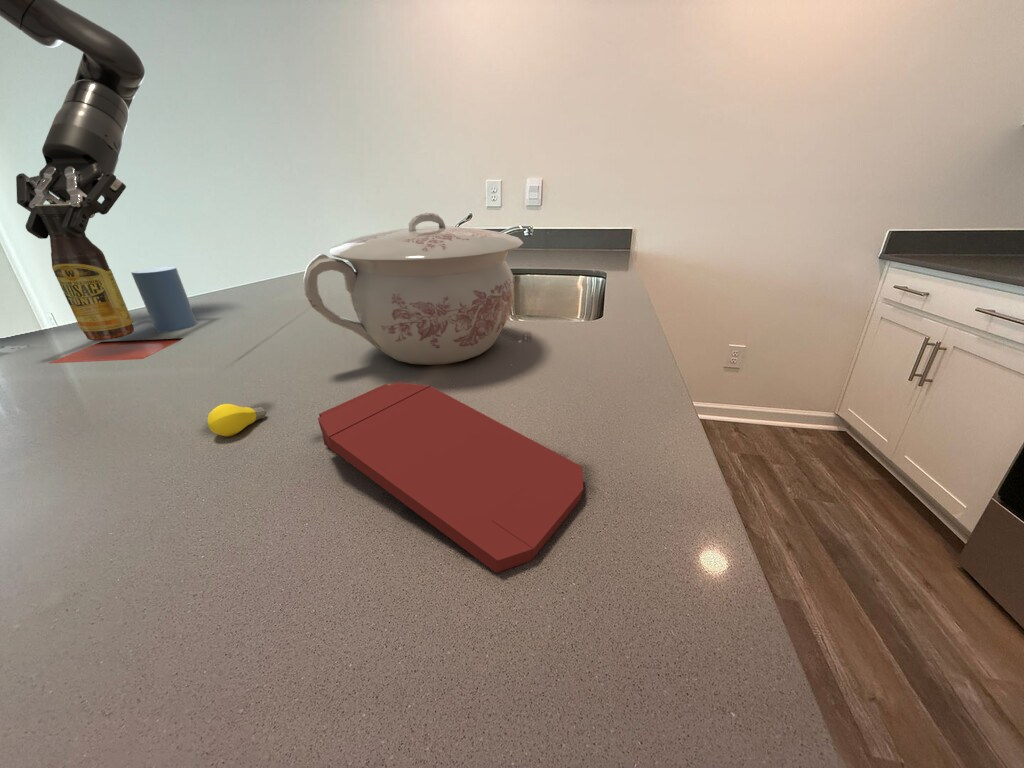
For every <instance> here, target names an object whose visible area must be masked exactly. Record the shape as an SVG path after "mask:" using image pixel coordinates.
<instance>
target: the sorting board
mask: <svg viewBox="0 0 1024 768" xmlns="http://www.w3.org/2000/svg"><path fill="white" fill-rule="evenodd" d="M183 339H184V337H176V338H174V337H173V338H152V339H129V340H127V339H126V340H109V341H108V340H103V341H99V342H97V343H95V344H92V345H90V346H87V347H84V348H82V349H79V350H77V351H74V352H71V353H70V354H67V355H65V356H62V357H59V358H57V359H55V360H52V361H49V364H65V363H84V362H85V363H87V362H107V361H110V362H111V361H128V360H129V361H130V360H131V361H132V360H145V359H146V358H148V357H150V356H152V355H153V354H155V353H158V352H159V351H162V350H163V349H166V348H167V347H170V346H172V345H173V344H175V343H178V342H179V341H182V340H183Z"/></svg>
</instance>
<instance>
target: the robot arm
mask: <svg viewBox="0 0 1024 768" xmlns="http://www.w3.org/2000/svg"><path fill="white" fill-rule="evenodd" d="M0 17H1V18H3V20H5V21H7V23H9V24H11V25H12V26H13V27H15V28H16V29H18V30H19V31H20V32H23V34H24V35H26V36H27V37H29V38H31V40H33V41H34V42H36V43H38V44H40V45H42V46H43V47H47V48H56V47H59V46H60V45H62V44H63V43H64V44H67V45H69V46H71V47H73V48H75V49H77V50H79V51H80V52H82V55H81V57H80V58H81V59H80V62H79V64H78V67H77V71H76V74H75V77H74V81H73V83H72V84H71V86H70V87H69V89H68V91H67V93H66V95H65V98H64V100H63V103H62V105H61V107H60V109H59V110H58V111H57V113H56V114H55V116H54V117H53V120H52V123H51V125H50V128H49V131H48V133H47V135H46V138H45V141H44V143H43V145H42V147H41V149H42V150H41V152H42V155H43V158H44V161H45V166H44V167H43V168H42V169H41V170H40V171H39V172H38V175H34V176H30V177H29V175H26V173H22V172H21V173H17V175H16V176H15V181H16V185H15V186H16V188H15V189H16V204H17V205H19V206H21V208H23V209H25V210H27V211H28V212H30V213H29V215H28V218H27V221H26V223H25V229H26V231H27V232H28V233H29V234H31V235H33V236H34V237H36V238H37V239H41V240H43V239H44V240H45V239H48V238H49V235H48V231H47V229H46V227H45V224H44V222H43V220H42V218H41V217H40V216H39V215H38V214H37V211H36V209H35V205H41V204H44V203H46V202H48V204H70V205H71V206H72V207H73V208H68V209H67V212H66V215H65V218H64V221H63V224H62V230H63V231H64V232H66V233H67V234H69V235H70V236H72V237H74V238H81V237H82V234H83V233H84V232H85V233H86V230H87V227H88V225H89V221H90V219H93V218H94V217H95V216H96V214H100V215H107V214H109V211H110V210H111V209H112V207H113V206H115V203H116V202H117V201H118V199H119V198H120V196H121V195H122V194H123V192H125V189H127V185H126V184H125V183H124V182H123V181H122V180H121V179H120V178H119V177H118V176H117V175H115V172H116V169H117V165H118V162H119V159H120V156H121V154H122V150H123V144H124V143H123V141H124V136H125V133H126V130H127V126H128V123H129V118H130V117H129V116H130V112H129V111H130V109H131V105H132V104H133V101H134V99H135V97H136V95H137V93H138V91H139V89H140V87H141V85H142V84H143V81H144V79H145V76H146V67H145V64H144V62H143V60H142V59H141V57H140V56H139V54H138V53H137V52H136V51H135V50H134V48H132V47H131V45H130V44H128V43H127V42H126V41H125V40H123V39H122V38H121V37H119V36H118V35H116V34H114V33H113V32H111V31H110V30H108V29H106V28H105V27H103V26H101V25H99V24H97V23H95V22H93V21H92V20H90V19H88V18H86V17H85V16H84V15H82V14H80V13H78V12H76V11H75V10H73V9H70V8H69V7H67V6H65V5H63V4H62V3H60V2H59V1H58V0H0ZM101 197H102V198H103V201H102V202H100V201H99V199H100V198H101Z"/></svg>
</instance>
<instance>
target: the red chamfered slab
mask: <svg viewBox="0 0 1024 768" xmlns="http://www.w3.org/2000/svg"><path fill="white" fill-rule="evenodd" d="M318 416H319V417H317V421H318V424H319V428H320V431H321V433H322V439H323V444H324V446H326V447H327V448H328V449H329V450H331V451H332V452H334V453H335V454H337V455H338V456H340V457H341V458H342V459H344V460H345V461H346V462H348V463H349V464H350V465H352V466H353V467H354V468H356V469H357V470H358V471H360V472H361V473H362V474H363V475H365V476H366V477H368V478H369V479H371V481H373V482H374V483H376V484H377V485H378V486H380V487H381V488H382V489H384V490H385V491H386V492H388V493H389V494H390V495H392V496H393V497H394V498H395V499H397V500H398V501H400V502H401V503H403V504H404V505H405V506H406V507H408V508H409V509H410V510H411V511H413V512H414V513H416V514H417V515H418V516H420V517H421V518H423V519H424V520H425V521H426V522H427V523H429V524H430V525H431V526H433V527H434V528H435V529H437V530H438V531H440V532H441V533H442V534H444V535H445V536H446V537H447V538H449V539H450V540H452V541H453V542H454V543H456V544H457V545H458V546H460V547H461V548H462V549H464V550H465V551H466V552H468V553H469V554H470V555H472V556H473V557H474V558H476V560H478V561H479V562H481V563H482V564H483V565H484V566H486V567H487V568H489V569H490V570H491V571H493V572H494V573H495V574H497V573H499V572H503V571H506V570H509V569H513V568H514V567H517V566H521V565H523V564H526V563H529V562H532V561H533V560H534V558H535V557H536V556H537V555H538V553H539V552H540V551H541V550H542V548H543V547H544V546H545V545H546V544H547V543H548V541H549V540H550V539H551V537H552V536H553V535H554V534H555V533H556V531H557V530H558V529H559V527H560V526H561V525H562V523H564V521H565V520H566V519H567V518H568V516H569V515H570V514H571V512H572V511H573V510H574V509H575V508H576V506H578V504H579V503H580V501H581V500H582V495H583V492H584V473H583V472H584V471H583V466H582V465H581V464H579V463H576V462H574V461H573V460H571V459H569V458H567V457H565V456H563V455H562V454H560V453H558V452H556V451H554V450H552V449H550V448H548V447H546V446H544V445H542V444H541V443H539V442H537V441H535V440H533V439H531V438H529V437H527V436H526V435H523V434H522V433H520V432H518V431H516V430H514V429H512V428H510V427H509V426H507V425H505V424H503V423H501V422H499V421H497V420H496V419H493V418H492V417H490V416H488V415H486V414H484V413H482V412H480V411H478V410H476V409H474V408H473V407H471V406H469V405H467V404H465V403H463V402H462V401H459V400H458V399H456V398H454V397H452V396H451V395H448V394H446V393H445V392H443V391H441V390H440V389H437V388H435V387H433V386H431V385H425V384H419V383H417V384H416V383H408V382H398V381H396V382H393V383H391V384H389V383H384V384H382V385H380V386H378V387H375V388H373V389H371V390H369V391H367V392H364V393H362V394H360V395H357V396H355V397H353V398H351V399H348V400H347V401H345V402H342V403H339V404H337V405H335V406H333V407H331V408H328V409H327V410H324V411H322V412H320V413H318Z"/></svg>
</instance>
